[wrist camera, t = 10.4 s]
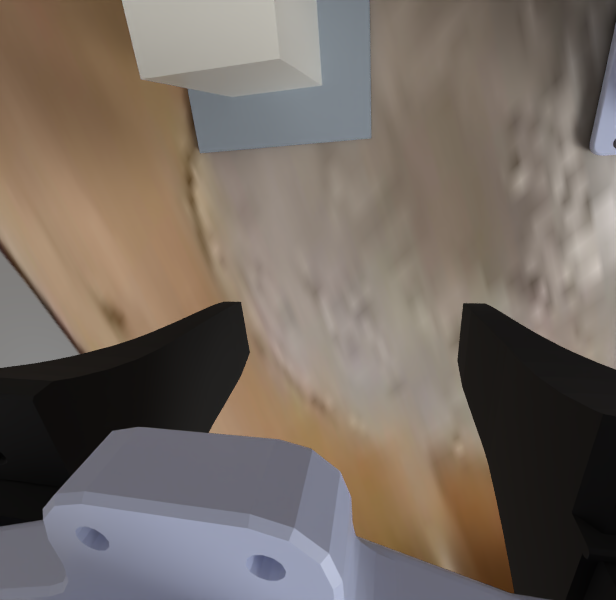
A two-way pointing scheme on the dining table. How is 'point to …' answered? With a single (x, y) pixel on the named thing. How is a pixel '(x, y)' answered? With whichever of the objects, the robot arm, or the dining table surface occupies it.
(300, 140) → the slate mat
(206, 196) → the dining table surface
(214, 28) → the cream block
